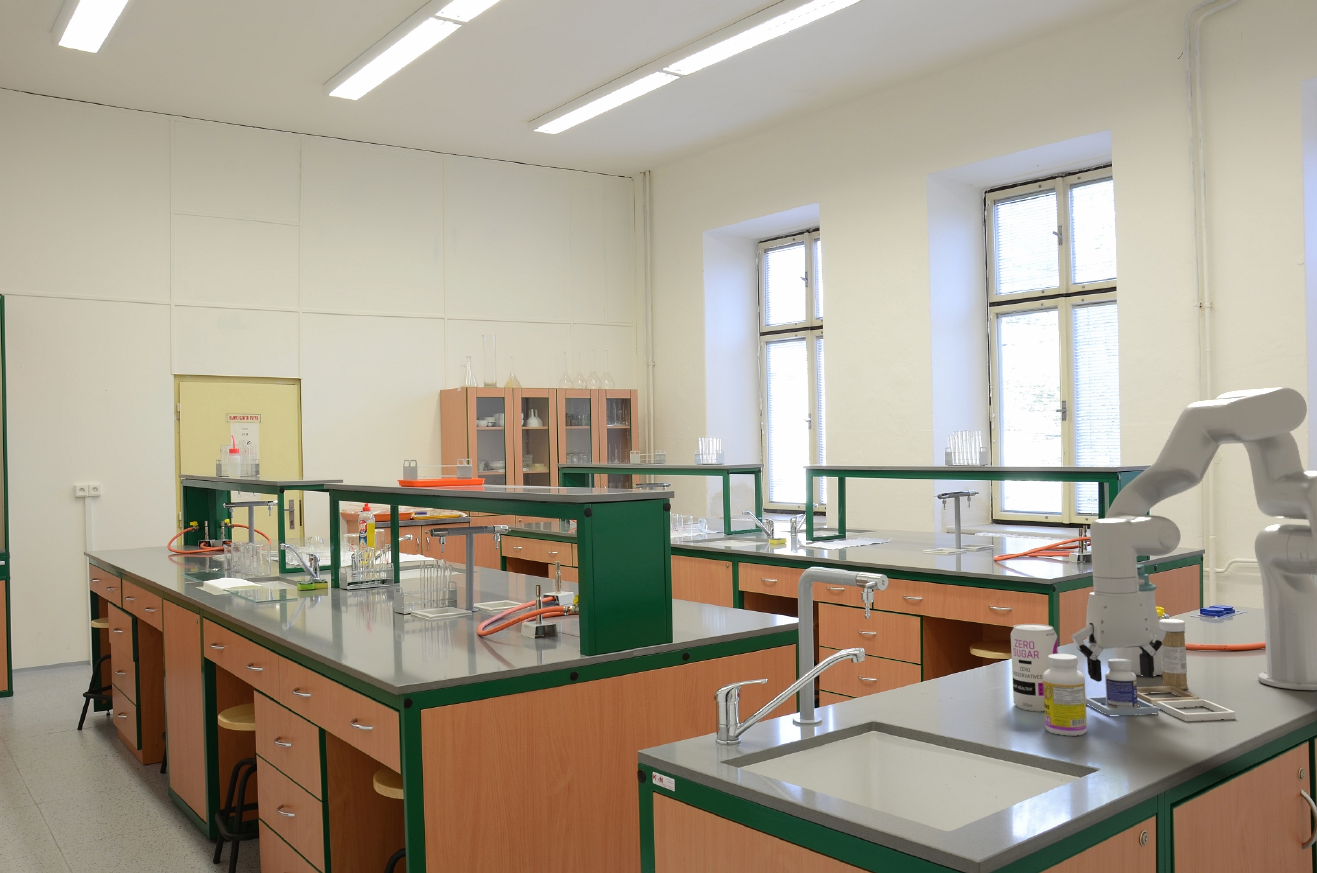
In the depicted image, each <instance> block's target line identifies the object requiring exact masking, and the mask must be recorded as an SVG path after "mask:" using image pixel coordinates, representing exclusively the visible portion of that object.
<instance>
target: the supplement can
mask: <svg viewBox="0 0 1317 873" xmlns="http://www.w3.org/2000/svg"><path fill="white" fill-rule="evenodd" d="M1058 644H1059V643H1058V635H1057V633H1056V631H1055V630H1054V627H1053V626H1052V625H1047V624H1043V623H1042V624H1041V623H1023V624H1022V623H1020V624H1019V623H1018V624H1016V625H1013V628H1012V630H1011V632H1010V646H1011V649H1010V650H1011V669H1012V672H1011V674H1012V692H1013V693H1012V694H1013V695H1012V696H1013V704H1014V705H1016V707H1017V708H1018V707H1019V708H1018V709H1020V708H1021V710H1024V711H1027V710H1029V711H1028V712H1034V711H1035V712H1037V713H1044V712H1043V711H1045V710H1044V688H1043V674H1044V672H1045V671H1047V670H1048V669H1050V665H1049V663H1048V656H1049V655H1051V654H1059V652H1058V651H1059V648H1058V647H1059V645H1058ZM1041 711H1042V712H1041ZM1035 712H1034V713H1035Z"/></svg>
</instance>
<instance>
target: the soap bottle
mask: <svg viewBox="0 0 1317 873" xmlns="http://www.w3.org/2000/svg"><path fill="white" fill-rule="evenodd" d="M1137 575H1138V576H1139V578H1144V581H1145V584H1144V585H1140V586H1139V590H1138V591H1139V592H1141V593H1142V595H1143V598H1144V602H1145V606H1146V610H1147V615H1148V622H1149V623H1150V624H1152V625H1154V626H1156V627H1158V628H1159V621H1160V620H1161V619H1160V617H1159V613H1158V610H1157V604H1156V590H1157V588H1158V587H1157V585H1155V584H1153V583H1152V582H1150V577H1149V576H1150V575H1149V574H1148V573H1145V564H1138V563H1137ZM1153 638H1154V633H1153V632H1150V641H1151V640H1152V639H1153ZM1150 641H1149V643H1150ZM1114 651H1115V652H1114V653H1115V659H1127V660H1130V661H1132V670H1131V672H1132V673H1134V674H1135V675H1141V673H1140V658H1139V655H1140V653H1142V651H1141V650H1140V649H1139V648H1138V647H1132V648H1116V649H1114ZM1153 658H1154V672H1153V677H1155V676H1154V675H1160V676H1163V674H1162V662H1161V647H1160V648H1159V649H1158V650H1157V652H1156V655H1155V656H1153Z"/></svg>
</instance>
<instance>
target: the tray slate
mask: <svg viewBox="0 0 1317 873" xmlns="http://www.w3.org/2000/svg"><path fill="white" fill-rule="evenodd" d="M1137 701H1138V705H1139V706H1141V707H1143V708H1141V707H1139V706H1138V708H1123V709H1109V708H1107V706H1106V705H1104V704H1099V703H1106V696H1093V697H1086V704H1089V705H1090V706H1093V707H1094V708H1096V709H1098V710H1100V711H1101V712H1103V713H1106V714H1107V715H1109V716H1110V715H1134V716H1140V715H1139V714H1152V713H1158V714H1159V709H1158V707H1157V706H1153V705H1151V704H1149V703H1147V702H1145V701H1142V700H1140V699H1138V698H1137ZM1090 706H1089V707H1090ZM1094 708H1093V709H1094ZM1096 709H1095V710H1096ZM1098 710H1097V711H1098ZM1100 711H1099V712H1100ZM1101 712H1100V713H1101ZM1103 713H1102V714H1103ZM1135 714H1137V715H1135ZM1107 715H1106V716H1107ZM1109 716H1108V717H1109Z"/></svg>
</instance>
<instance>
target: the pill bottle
mask: <svg viewBox="0 0 1317 873" xmlns="http://www.w3.org/2000/svg"><path fill="white" fill-rule="evenodd" d="M1107 666H1108V667H1107V668H1108V669H1109V670H1107V671H1106V673H1105V674H1104V680H1105V683H1104V684H1105V697H1106V705H1105V707H1107V708H1109V709H1123V708H1139V706H1138V701H1137V688H1138V687H1137V686H1138V683H1137V676H1136V675H1135V674H1134V673H1132V672H1131V670H1132V661H1130V660H1127V659H1116V658H1110V659H1108V660H1107Z"/></svg>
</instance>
